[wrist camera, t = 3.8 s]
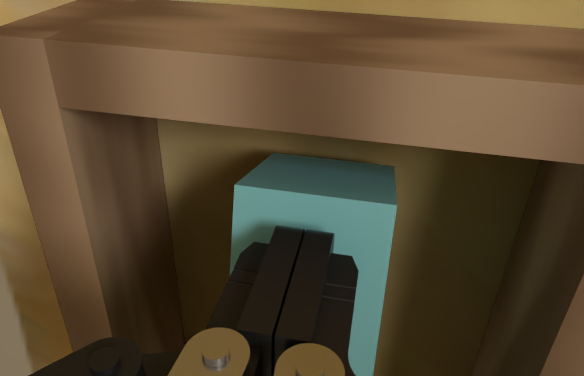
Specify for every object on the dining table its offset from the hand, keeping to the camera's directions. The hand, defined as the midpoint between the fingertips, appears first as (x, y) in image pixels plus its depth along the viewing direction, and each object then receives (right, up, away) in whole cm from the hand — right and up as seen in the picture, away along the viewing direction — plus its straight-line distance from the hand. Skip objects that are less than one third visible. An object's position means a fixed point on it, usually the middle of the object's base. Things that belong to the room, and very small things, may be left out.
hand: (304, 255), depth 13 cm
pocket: (+1, -2, +9) cm, 9 cm away
